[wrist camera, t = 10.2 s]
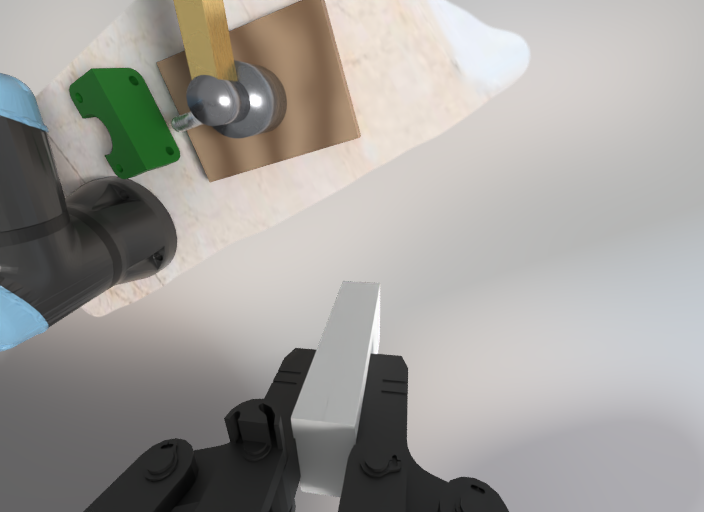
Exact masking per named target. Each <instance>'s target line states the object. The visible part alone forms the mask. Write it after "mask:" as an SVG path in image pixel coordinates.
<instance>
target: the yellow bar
mask: <svg viewBox="0 0 704 512" xmlns="http://www.w3.org/2000/svg"><path fill="white" fill-rule="evenodd" d="M173 1H174V5H175V9H176V14H177V18H178V22H179V27H180V31H181V35H182V40H183V44H184V48H185V53H186V57H187V61H188V66H189V70H190V74H191V79H192V81H191V82H190V84H189V86H188V88H187V95H186V97H187V103H188V107H189V109H190V111H191V113H192V114H193V116H194V117H195V118H196V119H197V120H198V121H200V122H201V123H203V124H205V125H208V126H217V125H224V124H231V123H238V122H240V121H242V120H244V119H245V118H246V116H247V115H248V113H249V110H250V97H249V94H248V92H247V90H246V88H245V87H244V86H243V84H242V83H240V82H239V81H238V80H237V74H236V69H235V63H234V58H233V52H232V47H231V41H230V36H229V30H228V25H227V19H226V14H225V8H224V3H223V0H173Z"/></svg>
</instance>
